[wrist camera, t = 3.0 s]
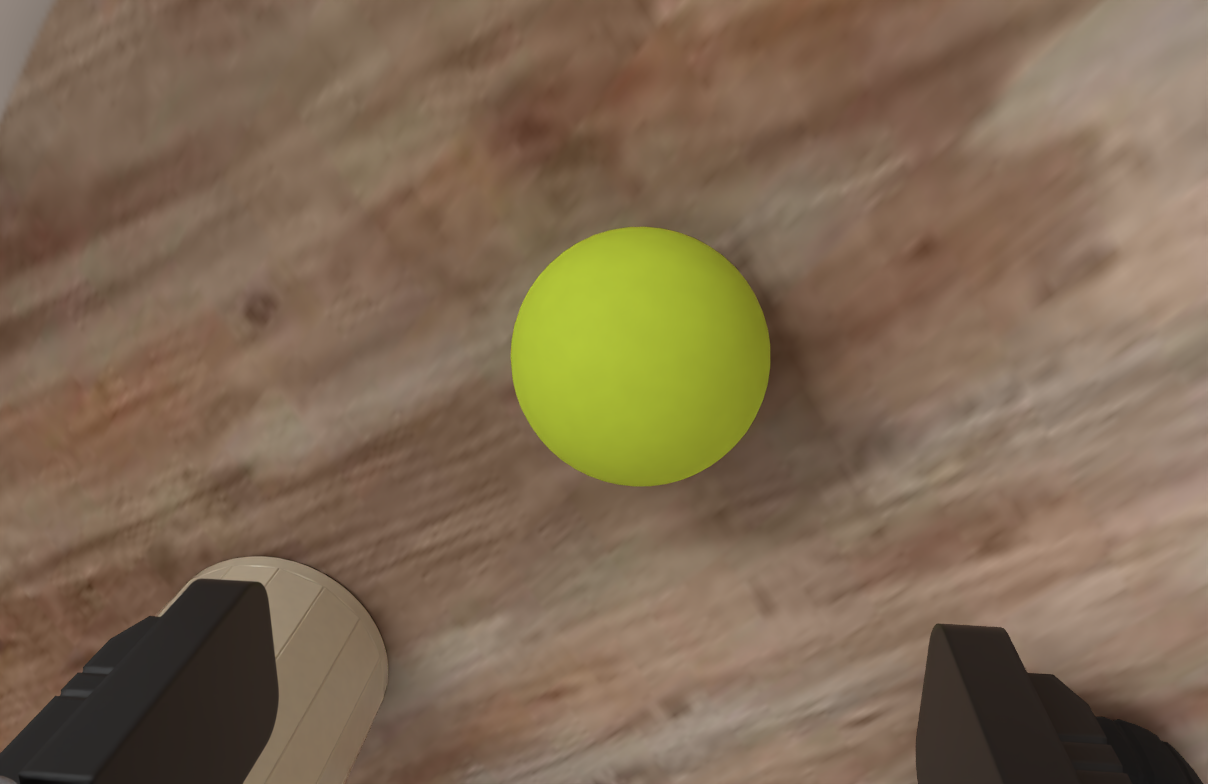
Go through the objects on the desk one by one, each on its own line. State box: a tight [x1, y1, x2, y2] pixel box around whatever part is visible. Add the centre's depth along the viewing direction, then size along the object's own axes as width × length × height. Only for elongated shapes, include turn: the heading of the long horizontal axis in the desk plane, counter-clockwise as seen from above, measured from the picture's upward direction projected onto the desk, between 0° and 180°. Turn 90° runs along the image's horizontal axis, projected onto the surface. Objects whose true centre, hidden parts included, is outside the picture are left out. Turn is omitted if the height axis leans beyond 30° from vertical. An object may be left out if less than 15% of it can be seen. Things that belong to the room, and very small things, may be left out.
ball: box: [511, 227, 770, 486], centre depth 24 cm, size 6×6×6 cm
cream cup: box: [155, 556, 388, 784], centre depth 27 cm, size 7×7×9 cm
